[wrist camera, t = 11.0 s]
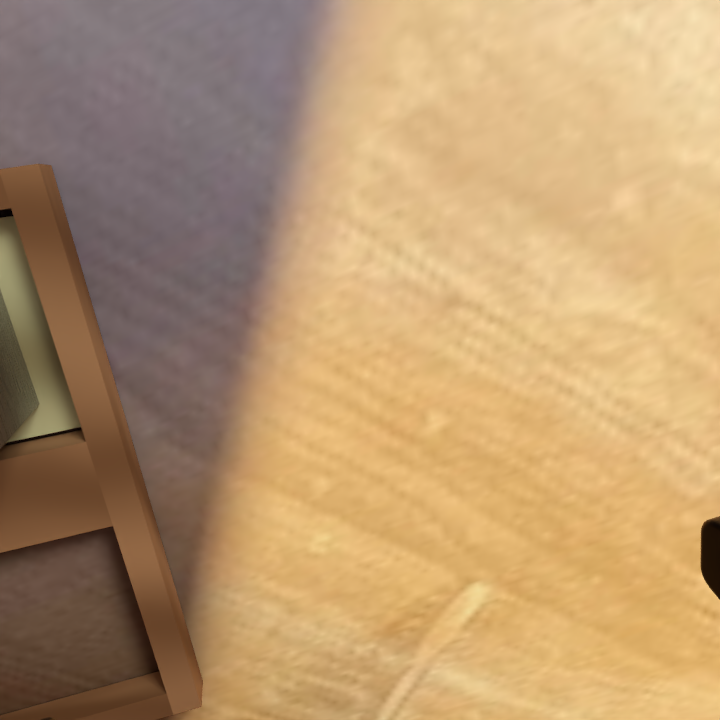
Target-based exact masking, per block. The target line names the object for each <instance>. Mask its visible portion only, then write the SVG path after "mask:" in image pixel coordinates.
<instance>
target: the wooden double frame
mask: <svg viewBox="0 0 720 720" xmlns="http://www.w3.org/2000/svg"><path fill="white" fill-rule="evenodd" d="M8 209H12V213H13V216H10V217H3V218H0V290H1V292H2V295H3V298H4V301H5V304H6V307H7V310H8V313H9V316H10V319H11V322H12V325H13V328H14V331H15V333H16V336H17V339H18V342H19V345H20V348H21V351H22V354H23V357H24V360H25V363H26V366H27V369H28V372H29V374H30V377H31V380H32V383H33V386H34V389H35V392H36V395H37V398H38V401H39V405H38V406H37V408H36V409H35V410H34V411H33V412H32V413H31V415H30V416H29V417H28V418H27V419H26V420H25V421H24V423H23V424H22V425H21V426H20V427H19V428H18V429H17V431H16V432H15V433H14V434H13V435H12V436H11V437H10V439H9V440H8V441H7V442H12V441H17V440H21V439H26V438H31V437H36V436H40V435H45V434H50V433H55V432H59V431H64V430H69V429H73V428H78V427H81V428H82V430H78V431H73V432H68V433H64V434H59V435H54V436H50V437H45V438H40V439H35V440H31V441H26V442H21V443H16V444H12V445H7V446H3V447H2V448H1V449H0V553H1V552H6V551H10V550H14V549H18V548H22V547H27V546H31V545H35V544H39V543H44V542H48V541H52V540H56V539H60V538H65V537H69V536H73V535H77V534H81V533H86V532H90V531H94V530H98V529H102V528H107V527H111V526H113V528H114V531H115V534H116V537H117V540H118V543H119V546H120V549H121V553H122V556H123V559H124V562H125V565H126V568H127V571H128V574H129V578H130V581H131V584H132V587H133V590H134V593H135V596H136V599H137V603H138V606H139V609H140V612H141V615H142V618H143V621H144V624H145V627H146V631H147V634H148V637H149V640H150V643H151V646H152V649H153V652H154V656H155V659H156V662H157V665H158V668H159V671H158V672H154V673H150V674H147V675H143V676H140V677H136V678H132V679H129V680H125V681H122V682H118V683H114V684H111V685H107V686H104V687H100V688H97V689H93V690H89V691H86V692H82V693H79V694H75V695H71V696H68V697H64V698H61V699H57V700H53V701H50V702H46V703H43V704H39V705H35V706H32V707H28V708H25V709H21V710H17V711H14V712H10V713H7V714H3V715H0V720H40V719H43V718H47V717H52V718H55V719H56V720H158V719H161V718H165V717H168V716H172V715H175V714H178V713H182V712H185V711H189V710H192V709H196V708H199V707H201V705H202V685H203V680H202V677H201V674H200V670H199V667H198V663H197V660H196V657H195V653H194V650H193V646H192V643H191V640H190V636H189V633H188V629H187V626H186V622H185V619H184V616H183V612H182V609H181V605H180V602H179V599H178V595H177V592H176V588H175V585H174V582H173V578H172V575H171V571H170V568H169V565H168V561H167V558H166V554H165V551H164V548H163V544H162V541H161V537H160V534H159V531H158V527H157V524H156V520H155V517H154V514H153V510H152V507H151V503H150V500H149V497H148V493H147V490H146V486H145V483H144V480H143V476H142V473H141V469H140V466H139V463H138V459H137V456H136V452H135V449H134V445H133V442H132V439H131V435H130V432H129V428H128V425H127V422H126V418H125V415H124V411H123V408H122V405H121V401H120V398H119V394H118V391H117V388H116V384H115V381H114V377H113V374H112V371H111V367H110V364H109V360H108V357H107V354H106V350H105V347H104V343H103V340H102V337H101V333H100V330H99V326H98V323H97V320H96V316H95V313H94V309H93V306H92V303H91V299H90V296H89V292H88V289H87V286H86V282H85V279H84V275H83V272H82V269H81V265H80V262H79V258H78V255H77V251H76V248H75V245H74V241H73V238H72V234H71V231H70V228H69V224H68V221H67V217H66V214H65V211H64V207H63V204H62V200H61V197H60V194H59V190H58V187H57V183H56V180H55V177H54V173H53V170H52V166H51V165H44V164H34V165H27V166H20V167H13V168H6V169H0V211H1V210H8ZM7 442H6V443H7Z"/></svg>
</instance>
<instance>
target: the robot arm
mask: <svg viewBox="0 0 720 720" xmlns="http://www.w3.org/2000/svg"><path fill="white" fill-rule="evenodd" d="M701 571H702V575H703V577H704V579H705V581H706V583H707V584H708V586H709V587H710V588H711V590H712V591H713V592H714V593H715V595H716V596H717V597H718V598H719V599H720V516H719V517H716V518H712V519H709V520H707V521H705V522H704V524H703V526H702V528H701ZM40 720H56V719H55V718H52V717H47V718H43V719H40Z"/></svg>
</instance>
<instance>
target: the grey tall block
mask: <svg viewBox="0 0 720 720" xmlns="http://www.w3.org/2000/svg"><path fill="white" fill-rule="evenodd" d="M38 405H39V401H38V398H37V395H36V392H35V389H34V386H33V383H32V380H31V377H30V374H29V372H28V369H27V366H26V363H25V360H24V357H23V354H22V351H21V348H20V345H19V342H18V339H17V336H16V333H15V331H14V328H13V325H12V322H11V319H10V316H9V313H8V310H7V307H6V304H5V301H4V298H3V295H2V292H1V290H0V449H1V448H2V447H3V446H4V444H5V443H6V442H7V441H8V440H9V439H10V437H11V436H12V435H13V434H14V433H15V432H16V431H17V429H18V428H19V427H20V426H21V425H22V424H23V423H24V421H25V420H26V419H27V418H28V417H29V416H30V415H31V413H32V412H33V411H34V410H35V409H36V408H37V406H38Z"/></svg>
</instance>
